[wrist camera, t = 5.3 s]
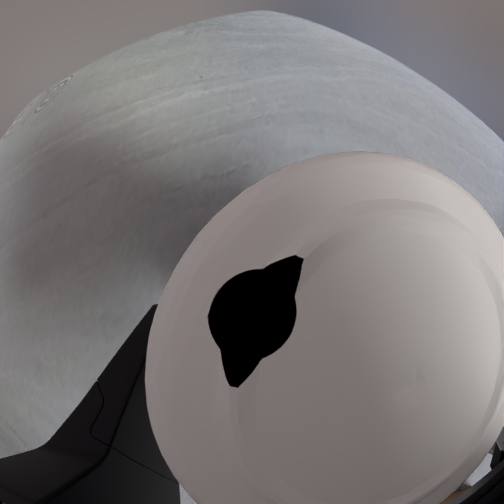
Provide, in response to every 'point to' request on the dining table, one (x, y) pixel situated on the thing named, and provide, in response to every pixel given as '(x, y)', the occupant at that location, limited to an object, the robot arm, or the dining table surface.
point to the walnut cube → (453, 496)
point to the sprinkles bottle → (332, 339)
